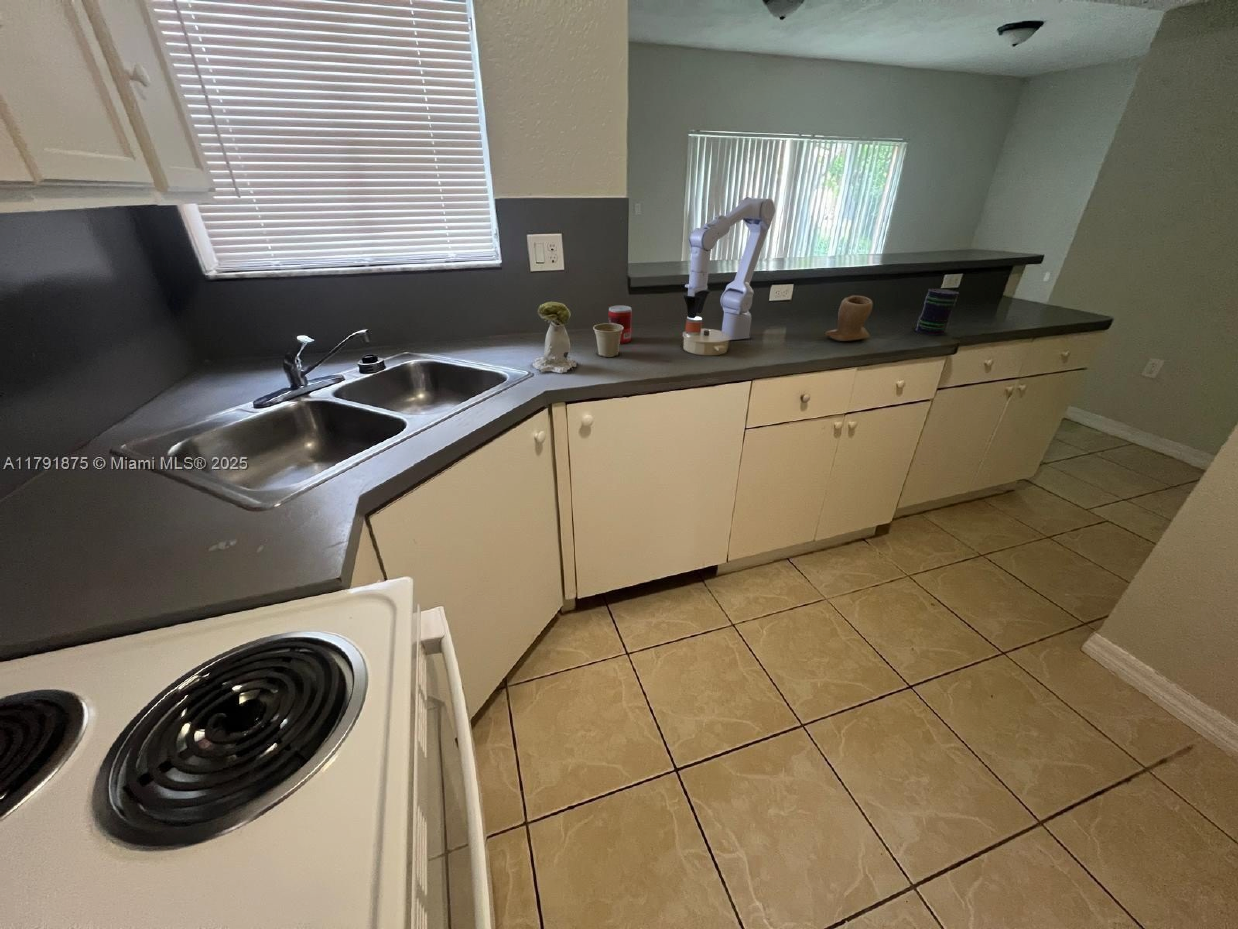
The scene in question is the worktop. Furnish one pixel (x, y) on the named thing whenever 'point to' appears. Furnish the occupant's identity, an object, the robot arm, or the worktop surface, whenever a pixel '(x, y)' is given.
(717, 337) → the pot lid
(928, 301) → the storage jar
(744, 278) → the robot arm
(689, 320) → the tin can
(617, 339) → the flower pot
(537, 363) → the mossy mushroom figurine
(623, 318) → the canned food
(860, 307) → the brown clay vase
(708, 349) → the pot
